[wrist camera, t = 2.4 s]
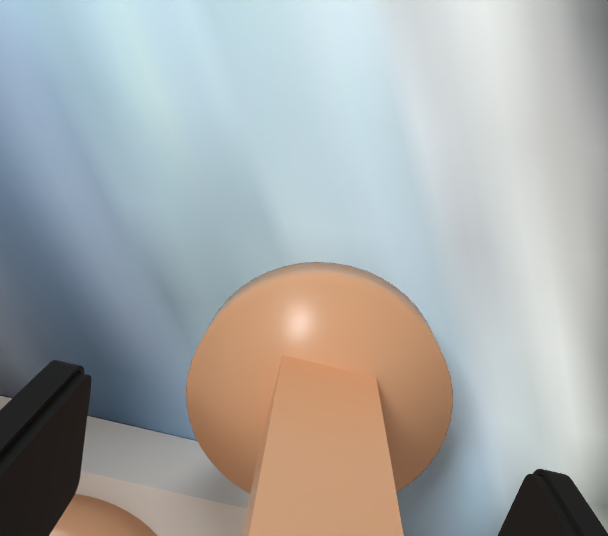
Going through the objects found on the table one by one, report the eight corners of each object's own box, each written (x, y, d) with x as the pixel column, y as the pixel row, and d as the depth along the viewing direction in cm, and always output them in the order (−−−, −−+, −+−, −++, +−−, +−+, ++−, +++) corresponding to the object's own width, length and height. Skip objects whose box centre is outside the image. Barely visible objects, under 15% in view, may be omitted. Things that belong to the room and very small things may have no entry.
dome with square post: (453, 268, 15) (646, 521, 6) (390, 446, 17) (460, 836, 8) (238, 216, 15) (95, 393, 6) (201, 403, 17) (53, 750, 8)
